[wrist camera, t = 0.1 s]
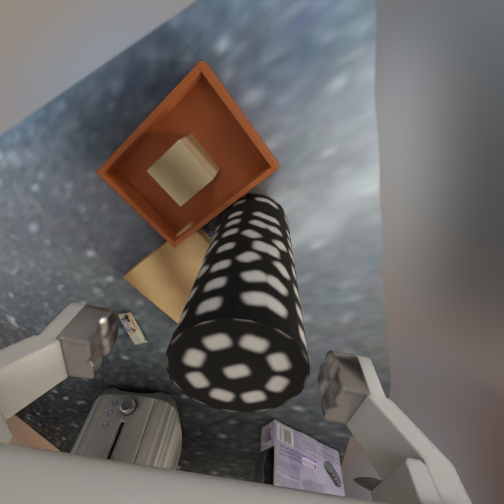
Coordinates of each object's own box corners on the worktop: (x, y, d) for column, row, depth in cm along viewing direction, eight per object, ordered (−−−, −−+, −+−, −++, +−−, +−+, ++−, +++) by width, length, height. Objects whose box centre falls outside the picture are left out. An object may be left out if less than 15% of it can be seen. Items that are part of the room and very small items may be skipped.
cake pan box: (255, 425, 55) (249, 551, 40) (270, 415, 53) (271, 544, 38) (322, 457, 60) (340, 579, 45) (338, 449, 58) (363, 574, 43)
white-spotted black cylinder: (236, 263, 36) (206, 420, 18) (208, 208, 32) (136, 340, 15) (296, 244, 34) (326, 399, 16) (274, 182, 30) (281, 300, 13)
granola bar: (149, 340, 44) (146, 345, 43) (136, 342, 44) (133, 347, 43) (132, 309, 41) (129, 314, 40) (118, 311, 41) (114, 316, 40)
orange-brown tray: (207, 63, 25) (201, 59, 22) (278, 162, 29) (279, 168, 26) (109, 166, 30) (95, 172, 28) (180, 237, 34) (174, 248, 32)
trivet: (193, 218, 33) (190, 223, 31) (258, 287, 37) (257, 294, 36) (127, 271, 37) (121, 277, 36) (192, 326, 42) (190, 334, 41)
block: (191, 133, 28) (178, 139, 24) (220, 168, 29) (213, 179, 25) (162, 161, 29) (145, 171, 25) (191, 193, 31) (180, 207, 27)
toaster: (184, 385, 50) (142, 528, 33) (185, 459, 65) (157, 584, 48) (94, 374, 50) (7, 513, 33) (116, 451, 64) (63, 573, 48)
